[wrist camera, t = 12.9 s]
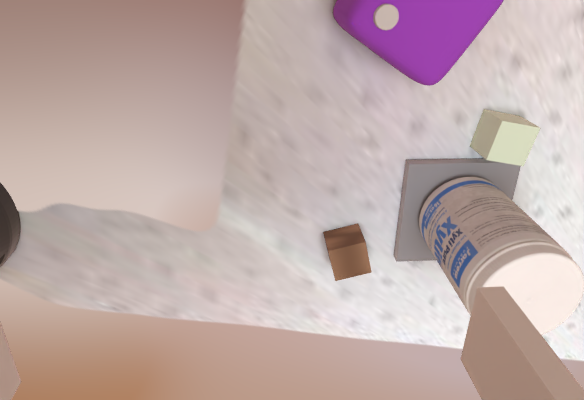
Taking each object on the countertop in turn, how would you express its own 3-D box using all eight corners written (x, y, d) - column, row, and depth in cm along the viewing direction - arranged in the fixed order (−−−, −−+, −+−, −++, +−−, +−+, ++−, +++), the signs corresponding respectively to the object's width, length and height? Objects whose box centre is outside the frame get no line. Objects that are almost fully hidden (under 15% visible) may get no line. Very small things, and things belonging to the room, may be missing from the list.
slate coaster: (393, 255, 55) (396, 261, 54) (406, 159, 49) (409, 164, 48) (493, 252, 56) (497, 257, 54) (515, 157, 50) (521, 162, 49)
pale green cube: (469, 145, 49) (486, 159, 46) (483, 109, 48) (502, 120, 44) (503, 151, 50) (523, 166, 46) (519, 115, 48) (540, 127, 45)
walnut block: (330, 260, 54) (335, 280, 51) (323, 231, 53) (328, 251, 49) (363, 252, 54) (371, 272, 51) (357, 223, 52) (365, 242, 49)
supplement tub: (407, 191, 50) (462, 273, 37) (495, 160, 49) (584, 233, 36) (427, 261, 54) (482, 357, 41) (508, 234, 53) (591, 323, 40)
